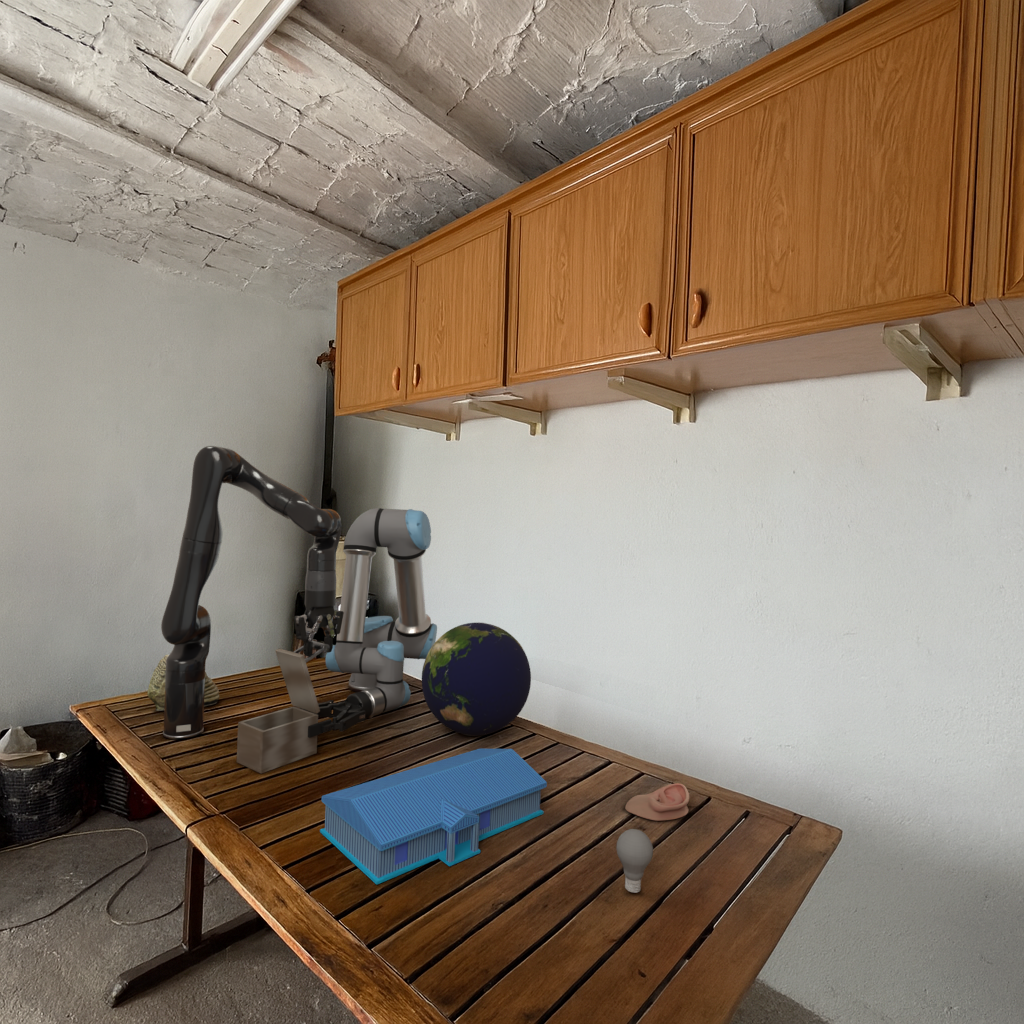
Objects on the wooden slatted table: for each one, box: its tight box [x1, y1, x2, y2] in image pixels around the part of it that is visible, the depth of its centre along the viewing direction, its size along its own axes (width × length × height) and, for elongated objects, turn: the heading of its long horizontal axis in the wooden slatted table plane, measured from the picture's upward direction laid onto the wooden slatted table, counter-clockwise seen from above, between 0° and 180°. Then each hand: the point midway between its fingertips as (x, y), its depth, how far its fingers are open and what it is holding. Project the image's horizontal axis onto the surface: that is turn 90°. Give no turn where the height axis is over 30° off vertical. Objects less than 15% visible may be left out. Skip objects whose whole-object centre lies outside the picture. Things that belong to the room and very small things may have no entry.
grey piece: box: [275, 640, 330, 714], centre depth 159 cm, size 16×10×9 cm
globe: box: [421, 621, 532, 737], centre depth 174 cm, size 30×30×30 cm
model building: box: [319, 747, 548, 885], centre depth 124 cm, size 39×24×10 cm, turn 132°
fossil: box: [147, 654, 221, 712], centre depth 185 cm, size 9×18×15 cm, turn 132°
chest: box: [236, 706, 319, 775], centre depth 152 cm, size 15×10×10 cm, turn 146°
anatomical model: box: [624, 783, 691, 822], centre depth 135 cm, size 13×4×12 cm
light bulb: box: [615, 828, 654, 894], centre depth 106 cm, size 6×6×10 cm
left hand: (318, 653), depth 161 cm, fingers open, 5 cm apart
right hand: (295, 726), depth 156 cm, fingers closed on chest, 10 cm apart
